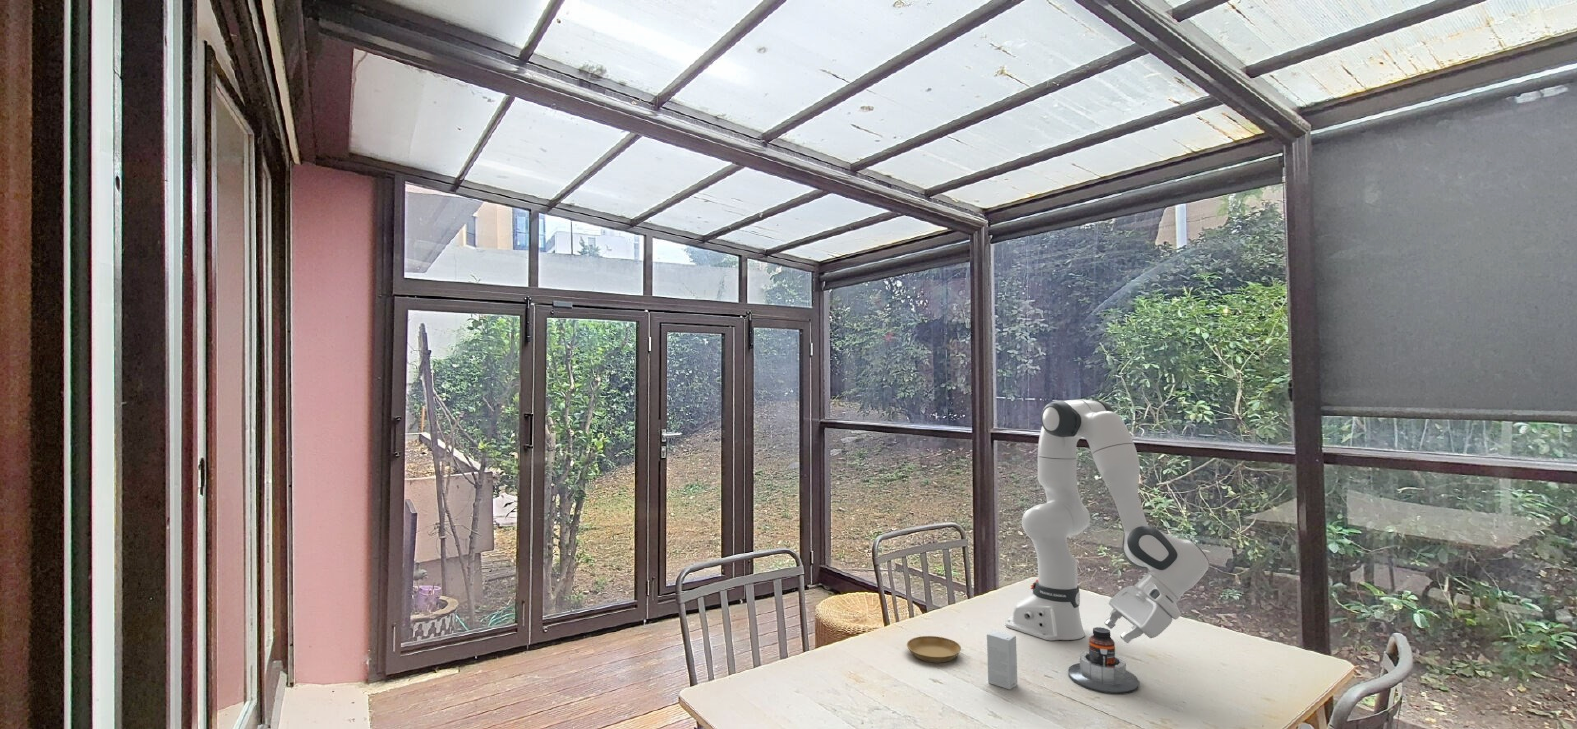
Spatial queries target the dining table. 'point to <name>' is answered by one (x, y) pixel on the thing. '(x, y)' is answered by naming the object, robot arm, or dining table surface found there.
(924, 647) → the plant saucer
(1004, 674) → the skincare box
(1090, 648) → the supplement bottle
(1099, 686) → the duct collar
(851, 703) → the dining table surface
